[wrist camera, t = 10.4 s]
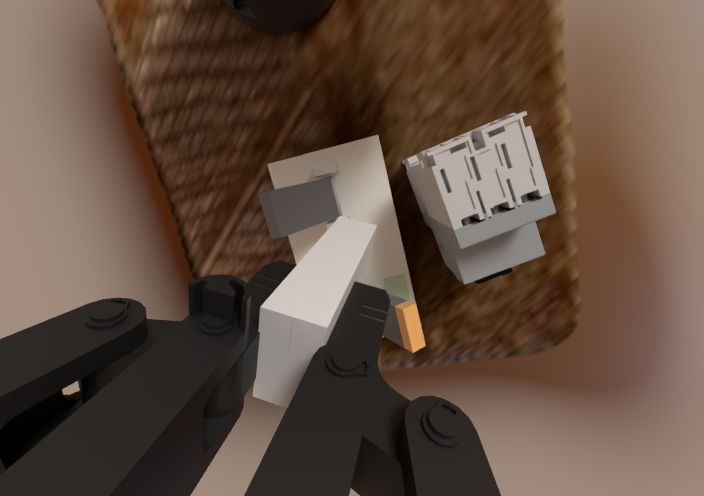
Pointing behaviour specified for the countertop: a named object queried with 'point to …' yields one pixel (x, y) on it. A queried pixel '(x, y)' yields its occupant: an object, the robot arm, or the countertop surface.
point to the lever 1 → (300, 206)
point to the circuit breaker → (483, 198)
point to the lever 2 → (404, 324)
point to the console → (353, 206)
